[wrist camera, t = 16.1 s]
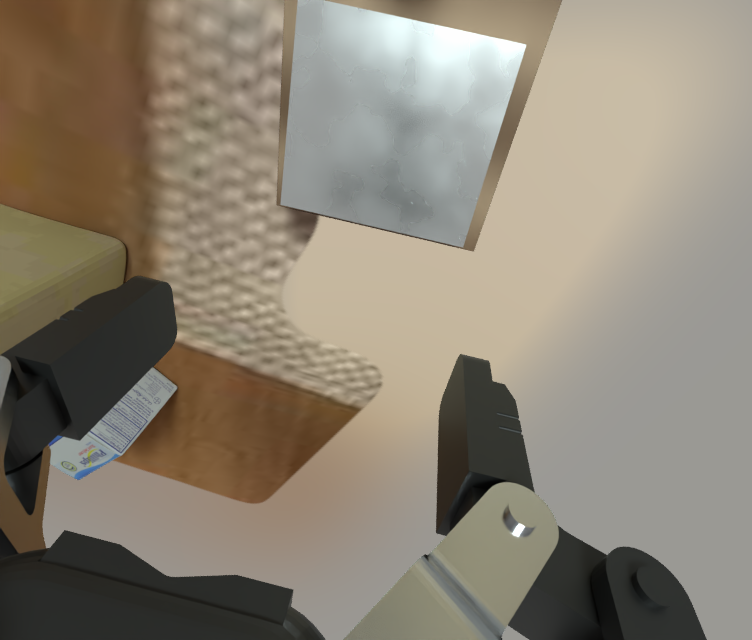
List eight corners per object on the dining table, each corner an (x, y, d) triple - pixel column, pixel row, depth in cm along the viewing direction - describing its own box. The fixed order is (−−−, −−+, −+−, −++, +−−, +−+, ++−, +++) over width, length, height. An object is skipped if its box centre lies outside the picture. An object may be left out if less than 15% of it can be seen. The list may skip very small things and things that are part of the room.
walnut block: (332, -319, 15) (301, -428, 12) (633, -259, 15) (687, -355, 12) (297, 188, 26) (276, 205, 23) (470, 228, 26) (473, 251, 23)
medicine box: (145, 356, 38) (73, 424, 30) (180, 386, 39) (120, 458, 32) (105, 387, 41) (33, 454, 34) (140, 413, 43) (77, 483, 35)
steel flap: (304, 1, 18) (298, -6, 17) (521, 49, 17) (526, 44, 16) (286, 201, 22) (280, 204, 21) (461, 242, 21) (462, 247, 20)
